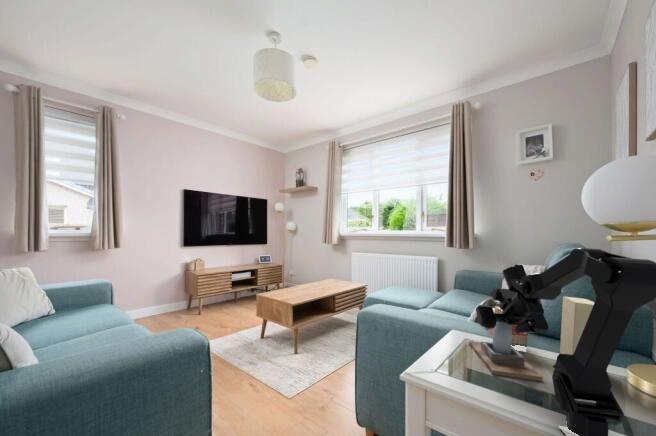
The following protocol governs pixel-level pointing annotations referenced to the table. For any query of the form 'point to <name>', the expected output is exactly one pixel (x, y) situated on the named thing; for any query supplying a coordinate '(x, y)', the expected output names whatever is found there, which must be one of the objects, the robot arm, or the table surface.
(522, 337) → the stack of blocks
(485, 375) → the table surface
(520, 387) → the table surface
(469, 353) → the table surface
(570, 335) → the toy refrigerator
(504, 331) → the peach-capped cylinder
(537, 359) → the table surface
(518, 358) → the jig board
